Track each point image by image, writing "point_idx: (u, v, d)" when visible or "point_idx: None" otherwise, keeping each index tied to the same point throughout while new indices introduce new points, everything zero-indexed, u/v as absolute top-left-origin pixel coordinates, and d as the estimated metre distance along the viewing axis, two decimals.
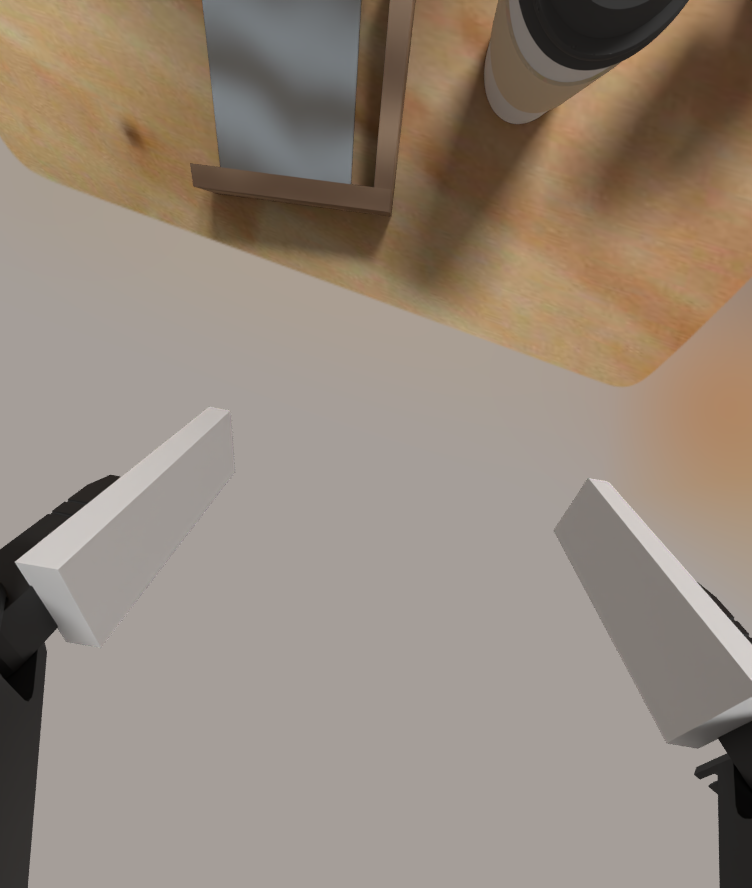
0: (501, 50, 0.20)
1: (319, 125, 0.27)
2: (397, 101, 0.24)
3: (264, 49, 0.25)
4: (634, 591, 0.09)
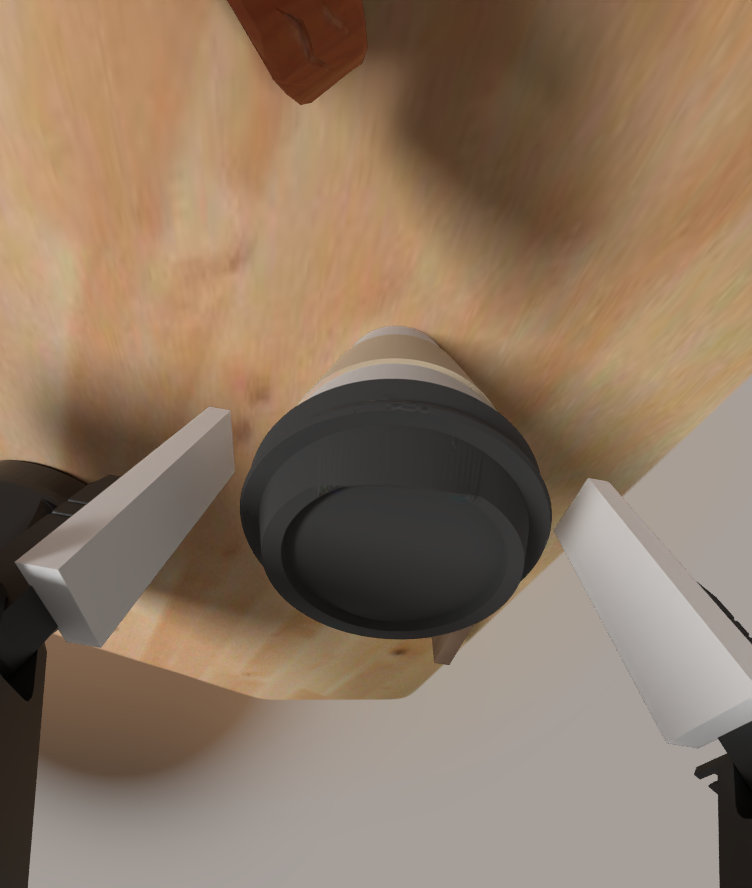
0: None
1: None
2: None
3: None
4: (634, 591, 0.09)
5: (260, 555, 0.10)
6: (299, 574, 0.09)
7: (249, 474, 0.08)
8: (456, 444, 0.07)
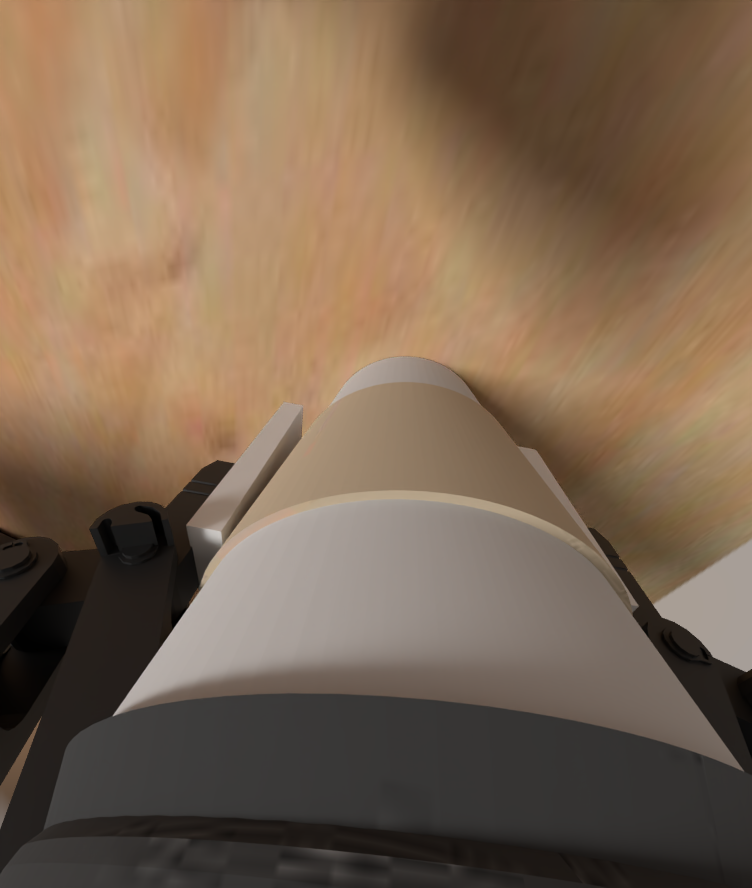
0: None
1: None
2: None
3: None
4: None
5: None
6: None
7: None
8: None
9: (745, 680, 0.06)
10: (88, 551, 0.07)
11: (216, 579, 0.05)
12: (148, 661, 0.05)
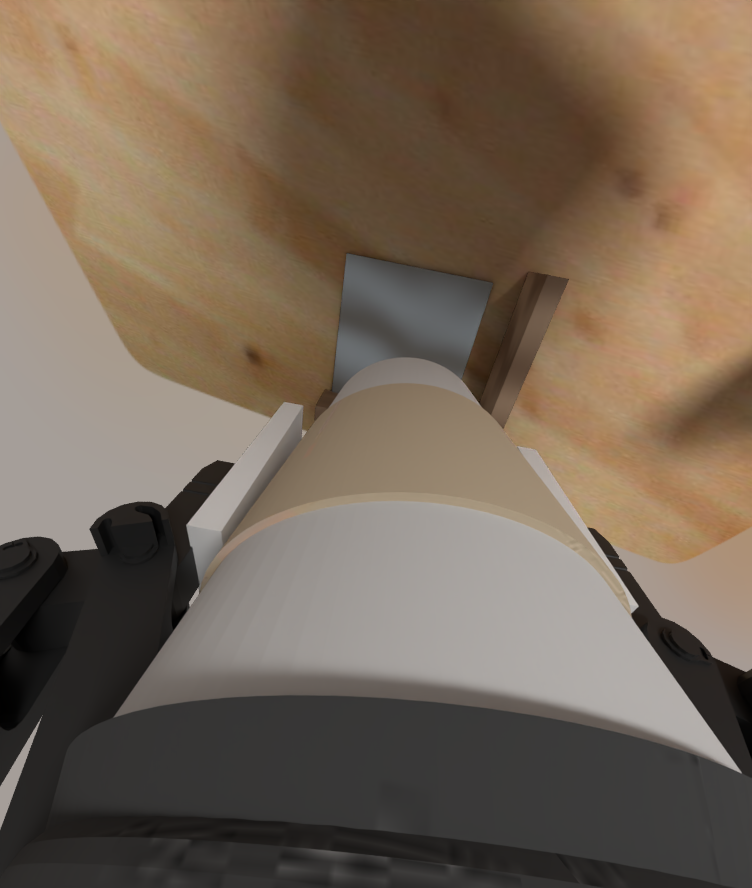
0: None
1: None
2: (517, 387, 0.26)
3: (393, 315, 0.28)
4: None
5: None
6: None
7: None
8: None
9: (745, 680, 0.06)
10: (88, 551, 0.07)
11: (216, 580, 0.05)
12: (148, 661, 0.05)
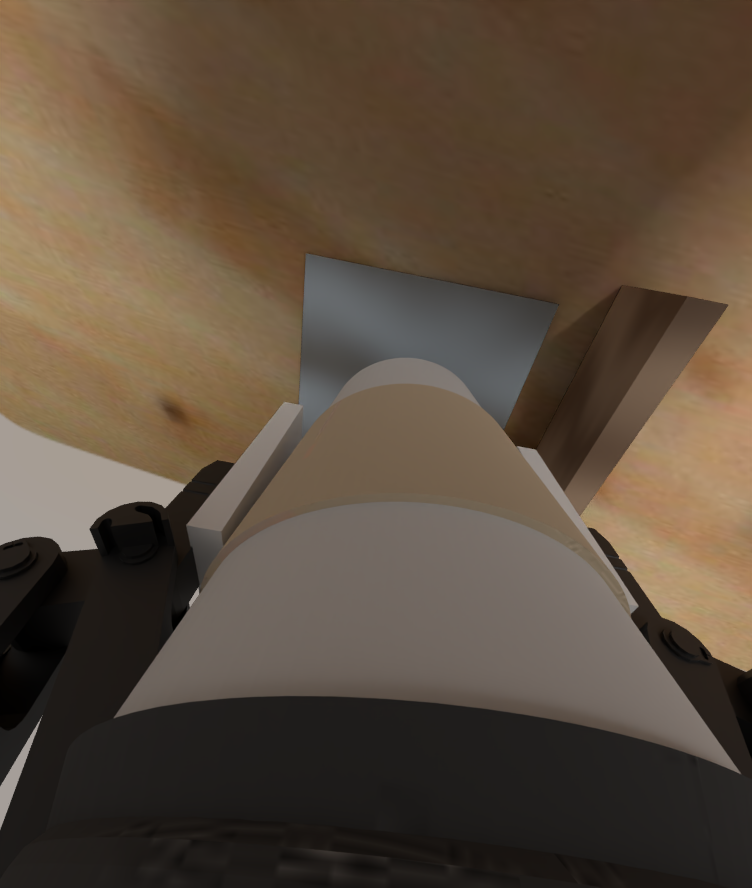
0: None
1: None
2: (597, 481, 0.16)
3: (388, 356, 0.17)
4: None
5: None
6: None
7: None
8: None
9: (744, 680, 0.06)
10: (88, 551, 0.07)
11: (217, 581, 0.05)
12: (148, 661, 0.05)
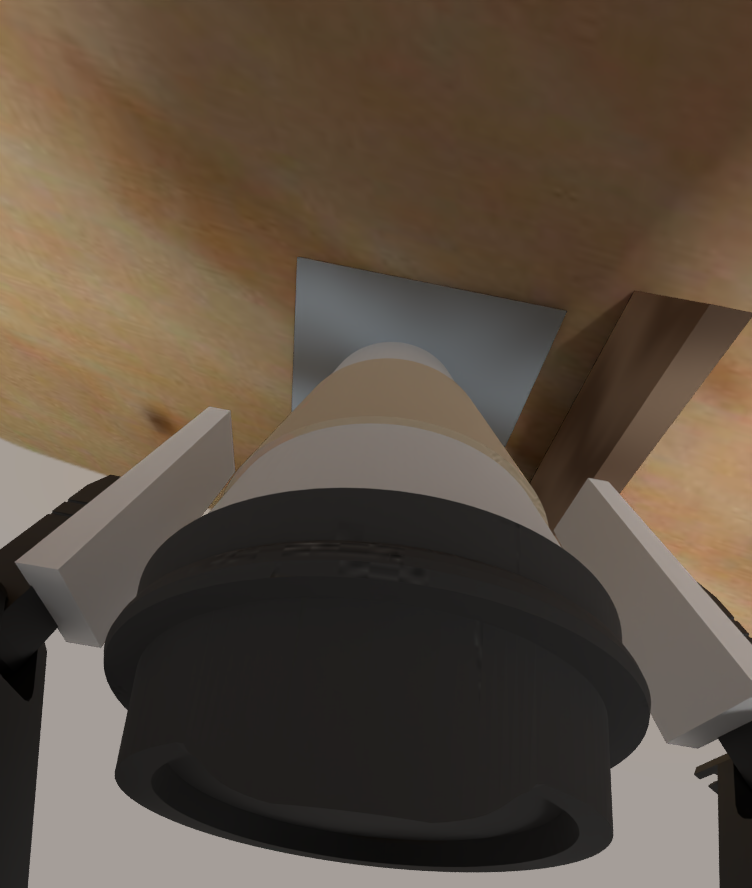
0: None
1: None
2: None
3: None
4: (634, 591, 0.09)
5: None
6: (207, 790, 0.05)
7: (106, 643, 0.05)
8: (484, 643, 0.04)
9: None
10: None
11: (237, 482, 0.07)
12: None
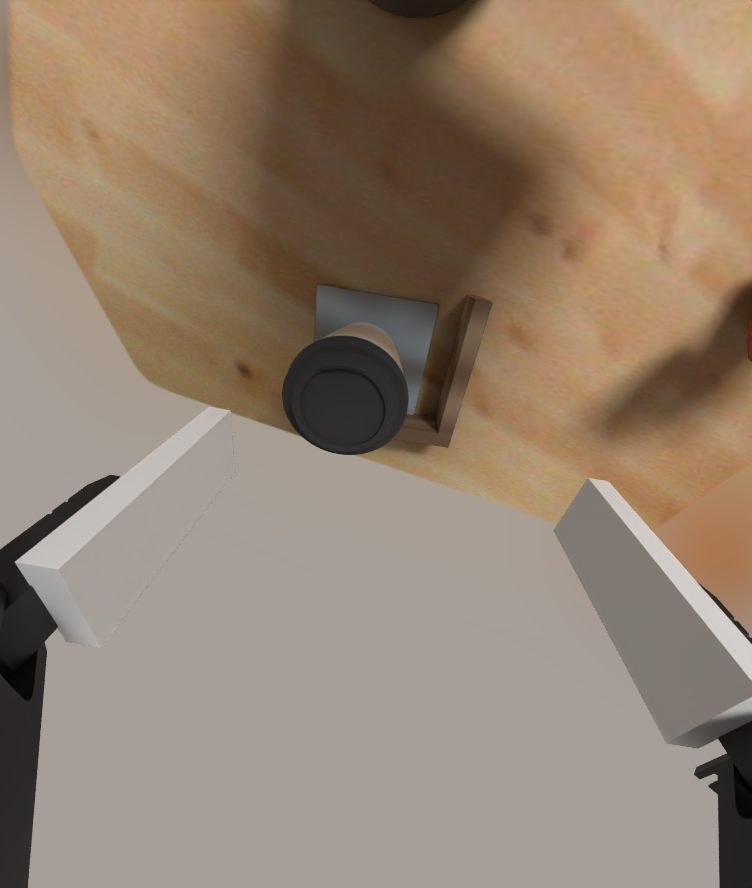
0: None
1: None
2: (462, 390, 0.32)
3: None
4: (634, 591, 0.09)
5: (290, 416, 0.23)
6: (306, 418, 0.22)
7: (287, 375, 0.22)
8: (361, 356, 0.21)
9: None
10: None
11: None
12: None
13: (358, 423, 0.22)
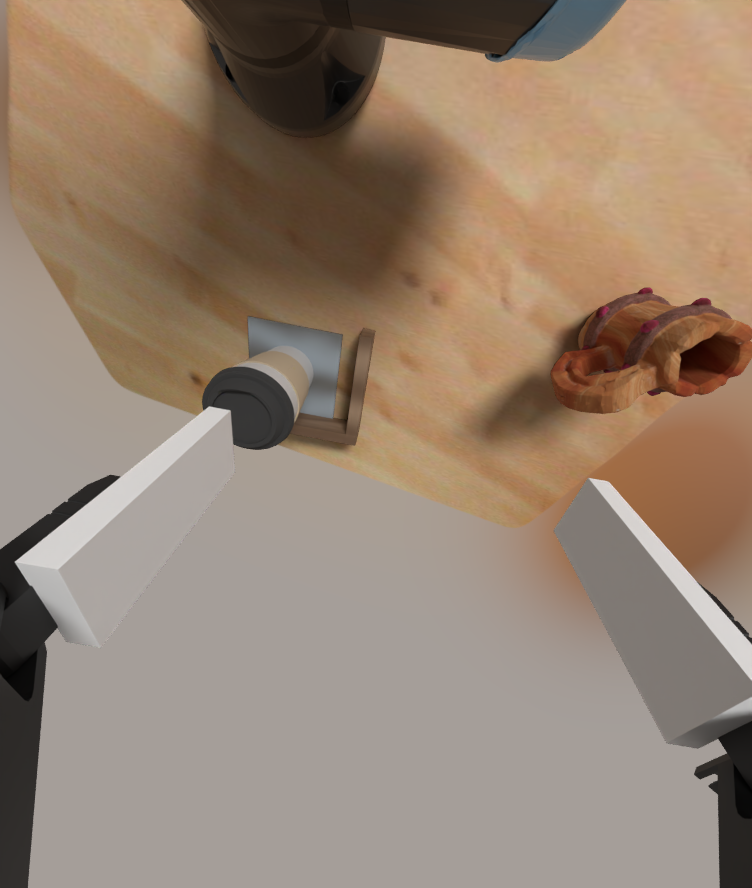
0: None
1: (314, 388, 0.44)
2: (359, 401, 0.41)
3: None
4: (634, 591, 0.09)
5: None
6: None
7: (204, 392, 0.31)
8: (252, 382, 0.30)
9: None
10: None
11: None
12: None
13: (255, 427, 0.32)
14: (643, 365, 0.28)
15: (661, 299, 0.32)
